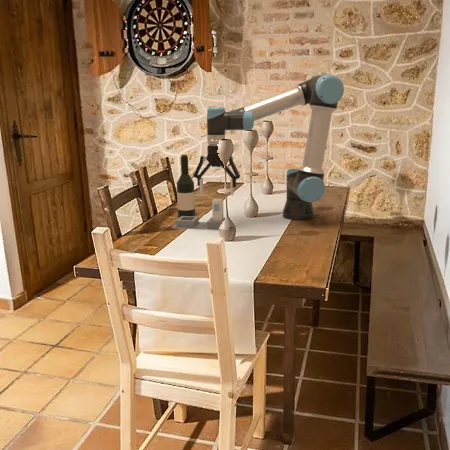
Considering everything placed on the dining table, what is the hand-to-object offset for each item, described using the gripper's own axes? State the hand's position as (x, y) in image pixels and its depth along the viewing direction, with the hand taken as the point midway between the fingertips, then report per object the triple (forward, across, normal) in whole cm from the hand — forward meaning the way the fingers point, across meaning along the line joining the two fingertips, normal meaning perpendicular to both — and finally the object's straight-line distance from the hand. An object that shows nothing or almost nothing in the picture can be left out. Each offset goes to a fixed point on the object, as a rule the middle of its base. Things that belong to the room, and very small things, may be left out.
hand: (216, 194), depth 214 cm
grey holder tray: (+16, -6, 0) cm, 17 cm away
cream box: (+14, 0, 0) cm, 14 cm away
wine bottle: (+16, -20, +18) cm, 31 cm away
